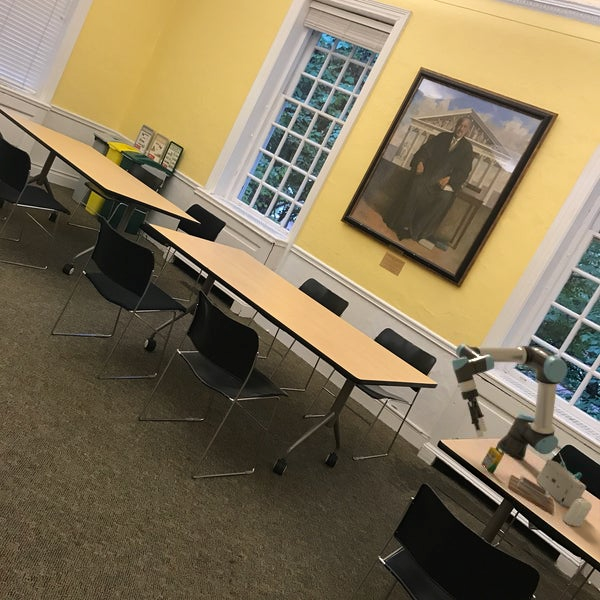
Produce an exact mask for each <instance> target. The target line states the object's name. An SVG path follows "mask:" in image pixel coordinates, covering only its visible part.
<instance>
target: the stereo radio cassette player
mask: <svg viewBox="0 0 600 600" xmlns="http://www.w3.org/2000/svg"><path fill="white" fill-rule="evenodd" d="M557 451H558V452H557V453H558V454H559V457H560V459H561V462H563V464H564V462H565V461H564V460H563V458H562V456H561V453H560V451H559V449H558V448H557ZM567 470H568V469H567V467H566V463H565V464H564V468H563V467H562V466H561V465H560V463H559V462H557V461H554V460H552V459H549V458H548V459H547V460H546V461H545V464H544V466H543V467H542V469H541V471H540V472H539V474H538V475H537V477H536V483H537V484H538V485H539V486H540V487H542V488H543V489H545V490H547V491H548V492H549V495H551V496H552V498H553V499H555V500H556V502H558V503H559V505H560V506H564V507H567V508H568V509H569V508H570V506H571V505H572V503H573V502H574V501H575V500H577V499H582V498H581V497H582V495H583V494H584V493H585V491H586V489H587V485H585V484H584V483H582V482H581V481H580V479H579V480H578V479H577V478H575V477H574V476H573V475H574V474H573V473H572V472H571V473H572V474H573V475H572V474H571V473H569V472H570V471H569V470H568V471H569V472H568V471H567Z"/></svg>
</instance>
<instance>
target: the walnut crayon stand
mask: <svg viewBox="0 0 600 600" xmlns="http://www.w3.org/2000/svg"><path fill="white" fill-rule="evenodd" d="M507 485H508V486H507V489H509V490H511V491H512V492H514V493H515V494H517V495H519V496H521V497H522V498H524V499H525V500H528V502H531V503H532V504H534V505H536V506H537V507H538V508H541V510H544V511H546V512H547V513H548V514H550V515H552V514H553V512H554V506H553V503H554V501H553V499H554V498H553V497H550V496H549V495H550V494H549V492H548V491H547V490H545V489H544V488H543V487H542V486H541V485H539V484H538V483H537V484H536V483H535V482H533V481H531V480H530V479H528V478H527V477H525V476H523V475H521V476H520V478H519V477H517V476H516V475H513V474H511V475H510V477H509V479H508V484H507Z"/></svg>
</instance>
